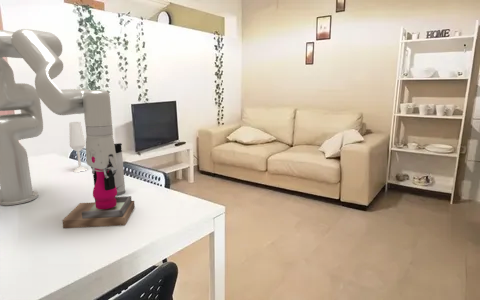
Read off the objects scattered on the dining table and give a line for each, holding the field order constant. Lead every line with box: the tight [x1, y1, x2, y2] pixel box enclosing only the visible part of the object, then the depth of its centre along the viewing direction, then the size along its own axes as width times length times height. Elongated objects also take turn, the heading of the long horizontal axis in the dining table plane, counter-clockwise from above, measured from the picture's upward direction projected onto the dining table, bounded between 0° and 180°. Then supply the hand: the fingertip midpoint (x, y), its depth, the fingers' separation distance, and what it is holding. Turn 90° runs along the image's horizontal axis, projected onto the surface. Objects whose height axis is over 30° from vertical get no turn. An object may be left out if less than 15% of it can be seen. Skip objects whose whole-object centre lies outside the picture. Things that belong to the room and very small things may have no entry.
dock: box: [61, 195, 135, 229], centre depth 102 cm, size 18×14×4 cm
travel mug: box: [114, 142, 126, 196], centre depth 123 cm, size 6×7×20 cm
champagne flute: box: [69, 121, 88, 173], centre depth 154 cm, size 7×7×24 cm
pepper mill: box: [92, 156, 118, 209], centre depth 100 cm, size 7×7×20 cm
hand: (104, 186), depth 101 cm, fingers closed on pepper mill, 5 cm apart
